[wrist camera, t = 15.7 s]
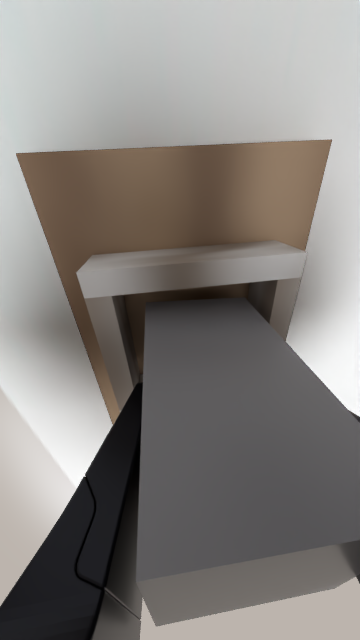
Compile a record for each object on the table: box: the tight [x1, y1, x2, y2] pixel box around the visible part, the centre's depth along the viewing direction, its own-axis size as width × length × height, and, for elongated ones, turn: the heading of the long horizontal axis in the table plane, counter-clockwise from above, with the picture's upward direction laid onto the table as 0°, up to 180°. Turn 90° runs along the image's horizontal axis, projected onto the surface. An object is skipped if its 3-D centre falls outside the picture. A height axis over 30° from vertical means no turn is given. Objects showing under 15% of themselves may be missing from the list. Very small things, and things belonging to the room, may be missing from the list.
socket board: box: [16, 140, 332, 424], centre depth 14 cm, size 12×24×4 cm, turn 3°
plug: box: [136, 297, 360, 626], centre depth 7 cm, size 5×5×8 cm
